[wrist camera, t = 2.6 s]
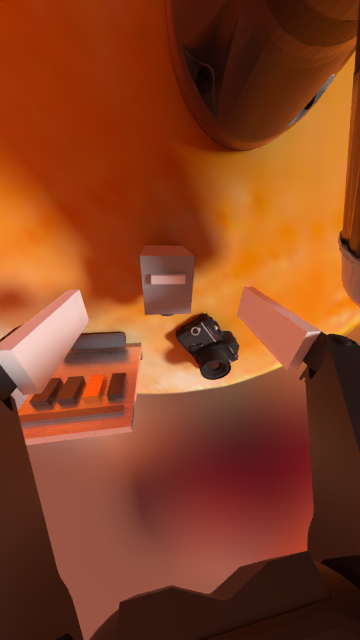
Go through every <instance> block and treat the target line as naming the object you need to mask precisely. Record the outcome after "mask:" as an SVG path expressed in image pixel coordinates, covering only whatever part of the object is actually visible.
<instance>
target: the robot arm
mask: <svg viewBox="0 0 360 640" xmlns="http://www.w3.org/2000/svg"><path fill="white" fill-rule="evenodd" d="M166 13H167V27H168V37H169V44H170V51H171V56H172V61H173V66H174V70H175V74H176V77H177V81H178V84H179V87H180V90H181V92H182V95H183V97H184V100H185V102H186V104H187V106H188V108H189V110H190V112H191V114H192V115H193V117H194V119H195V120H196V122H197V123H198V124H199V126H200V127H201V128H202V129H203V131H204V132H205V133H206V134H207V135H208V136H209V137H211V138H212V139H213V140H214V141H216V142H217V143H219V144H221V145H223V146H225V147H228V148H231V149H236V150H249V149H254V148H258V147H261V146H263V145H265V144H267V143H269V142H271V141H272V140H274V139H275V138H277V137H278V136H280V135H281V134H283V133H284V132H285V131H287V130H288V129H290V128H291V127H292V126H293V125H295V124H296V123H297V122H298V121H299V120H300V119H301V118H302V117H303V116H304V115H305V114H306V113H307V112H308V111H309V110H310V109H311V108H312V107H313V106H314V104H315V103H316V102H317V101H318V100H319V98H320V97H321V96H322V94H323V93H324V92H325V90H326V89H327V88H328V86H329V85H330V83H331V82H332V80H333V79H334V77H335V76H336V74H337V73H338V72H339V71H340V70H341V69H342V67H343V66H344V65H345V64H346V62H347V61H348V60H349V58H350V57H351V56H352V54H353V53H354V52H355V50H356V56H355V70H354V77H353V92H352V106H351V120H350V134H349V148H348V162H347V176H346V190H345V204H344V218H343V230H342V231H341V232H340V234H339V238H338V243H339V247H340V248H339V250H340V252H341V253H342V282H343V286H344V288H345V290H346V292H347V294H348V295H349V297H350V298H351V299H352V300H353V302H355V303H356V304H357V305H358V306H359V307H360V0H166ZM237 315H238V317H239V318H240V319H241V320H242V321H243V322H244V323H245V324H246V325H247V327H248V328H249V329H250V330H251V331H252V332H253V333H254V334H255V335H256V336H257V338H258V339H259V340H260V341H261V342H262V343H263V344H264V345H265V346H266V348H267V349H268V350H269V351H270V352H271V353H272V354H273V355H274V356H275V358H276V359H277V360H278V361H279V362H280V363H281V364H282V365H283V366H284V368H285V369H286V370H291V369H298V368H299V367H300V365H301V363H302V362H304V363H306V364H307V367H306V368H305V370H304V371H303V373H302V375H301V376H300V380H302V378H304V377H305V383H306V398H307V413H308V428H309V441H310V442H309V443H310V457H311V473H312V488H313V503H314V513H313V518H312V521H311V524H310V527H309V531H308V541H307V542H308V543H307V548H308V551H304V552H299V553H295V554H290V555H285V556H280V557H275V558H271V559H267V560H263V561H259V562H256V563H252V564H248V565H245V566H241V567H239V568H238V569H237V570H236V571H235V572H234V573H233V574H232V575H231V576H229V577H228V578H227V579H226V580H225V581H224V582H223V583H222V584H221V585H220V586H219V587H217V588H216V589H215V590H214V591H213V592H212V593H210V594H205V593H201V592H196V591H192V590H188V589H184V588H180V587H176V586H167V587H164V588H160V589H156V590H153V591H150V592H145V593H142V594H138V595H135V596H133V597H130V598H128V599H126V600H124V601H122V602H120V605H119V609H118V610H117V611H115V612H114V613H113V614H112V615H111V616H110V617H109V618H108V619H107V620H106V621H105V622H104V623H103V624H102V625H101V626H100V627H99V628H98V629H97V631H96V632H95V633H94V634H93V636H92V637H91V638H90V640H360V346H359V345H358V344H357V343H356V342H355V341H353V340H351V339H349V338H347V337H344V336H341V335H337V334H328V335H326V334H324V333H323V332H321V331H320V330H318V329H317V328H315V327H314V326H312V325H311V324H309V323H308V322H306V321H304V320H303V319H301V318H300V317H298V316H297V315H295V314H294V313H292V312H291V311H289V310H288V309H286V308H284V307H283V306H281V305H280V304H278V303H277V302H275V301H274V300H272V299H271V298H269V297H267V296H266V295H264V294H263V293H261V292H260V291H258V290H257V289H255V288H254V287H244V290H243V293H242V297H241V301H240V305H239V309H238V313H237ZM88 322H89V319H88V315H87V312H86V309H85V306H84V303H83V299H82V296H81V293H80V290H67V291H66V292H65V293H63V294H62V295H61V296H59V297H58V298H57V299H56V300H54V301H53V302H52V303H50V304H49V305H48V306H47V307H45V308H44V309H43V310H41V311H40V312H39V313H37V314H36V315H35V316H34V317H32V318H31V319H30V320H28V321H27V322H26V323H25V324H23V325H21V326H19V327H17V328H15V329H13V330H12V331H11V332H9V333H8V334H7V335H5V336H4V337H3V338H1V339H0V640H84V639H83V636H82V632H81V629H80V625H79V621H78V617H77V614H76V611H75V607H74V603H73V600H72V597H71V595H70V593H69V591H68V589H67V587H66V585H65V584H64V582H63V581H62V579H61V577H60V575H59V573H58V570H57V566H56V563H55V559H54V555H53V551H52V547H51V543H50V539H49V535H48V531H47V527H46V523H45V519H44V515H43V511H42V507H41V503H40V499H39V495H38V491H37V487H36V483H35V479H34V475H33V471H32V467H31V463H30V459H29V455H28V451H27V447H26V443H25V439H24V435H23V431H22V427H21V423H20V419H19V415H18V411H17V407H16V403H15V399H14V398H13V397H12V396H11V394H12V392H13V391H14V390H15V389H16V388H18V389H19V390H20V392H22V394H23V395H29V394H40V393H42V391H43V390H44V388H45V387H46V385H47V384H48V382H49V381H50V379H51V378H52V376H53V375H54V373H55V372H56V370H57V369H58V367H59V366H60V364H61V363H62V361H63V360H64V358H65V357H66V355H67V354H68V352H69V351H70V349H71V348H72V346H73V345H74V343H75V342H76V340H77V339H78V337H79V336H80V334H81V333H82V331H83V330H84V328H85V327H86V325H87V324H88Z"/></svg>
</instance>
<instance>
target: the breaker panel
mask: <svg viewBox="0 0 360 640" xmlns="http://www.w3.org/2000/svg"><path fill="white" fill-rule="evenodd" d="M142 357H143V355H142V347H141V343H134V344H125V347H116V348H99V349H81V350H70V351H69V352H68V354H67V355H66V357H65V358H64V360H63V361H62V363H61V364H60V366H59V367H58V369H57V370H56V372H55V373H54V375H53V376H52V378H51V379H50V381H49V382H48V384H47V385H46V387H45V388H44V390H43V391H42V393H40V394H30V395H29V396H28V397H27V399H26V400H25V402H24V403H23V404H22V406H21V407H20V408H19V410H18V415H19V419H20V423H21V427H22V431H23V435H24V439H25V443H26V445H31V444H39V443H47V442H55V441H62V440H70V439H77V438H86V437H94V436H102V435H110V434H118V433H126V432H132V430H133V421H134V412H135V403H136V395H137V386H138V377H139V368H140V360H142Z"/></svg>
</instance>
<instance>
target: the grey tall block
mask: <svg viewBox="0 0 360 640" xmlns="http://www.w3.org/2000/svg"><path fill="white" fill-rule="evenodd" d="M194 264H195V256H194V255H193V254H192V253H191V252H189V251H188V250H187V249H186V248H185V247H184V246H176V245H145V246H144V248H143V250H142V252H141V254H140V265H141V276H142V286H143V297H144V308H145V315H155V314H160V315H163V316H171V315H174V314H185V313H191V302H192V289H193V277H194Z"/></svg>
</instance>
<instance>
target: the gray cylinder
mask: <svg viewBox="0 0 360 640" xmlns="http://www.w3.org/2000/svg"><path fill="white" fill-rule="evenodd" d="M125 344H126V336H125V333H106V334H85V335H80V336H79V337H78V339H77V340H76V342H75V343H74V345H73V346H72V348H71V349H70V350H81V349H99V348H116V347H125Z"/></svg>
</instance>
